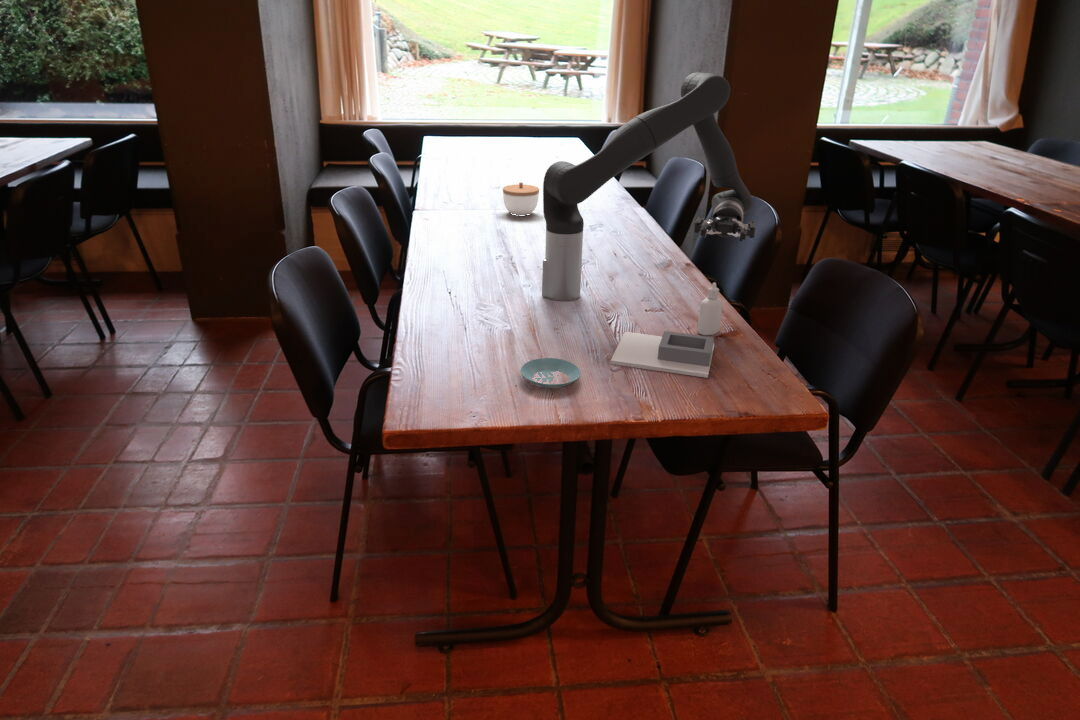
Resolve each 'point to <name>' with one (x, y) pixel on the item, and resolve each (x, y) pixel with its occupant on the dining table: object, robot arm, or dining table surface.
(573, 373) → the saucer
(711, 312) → the eye dropper bottle
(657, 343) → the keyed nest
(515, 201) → the lidded bowl
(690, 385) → the dining table surface
